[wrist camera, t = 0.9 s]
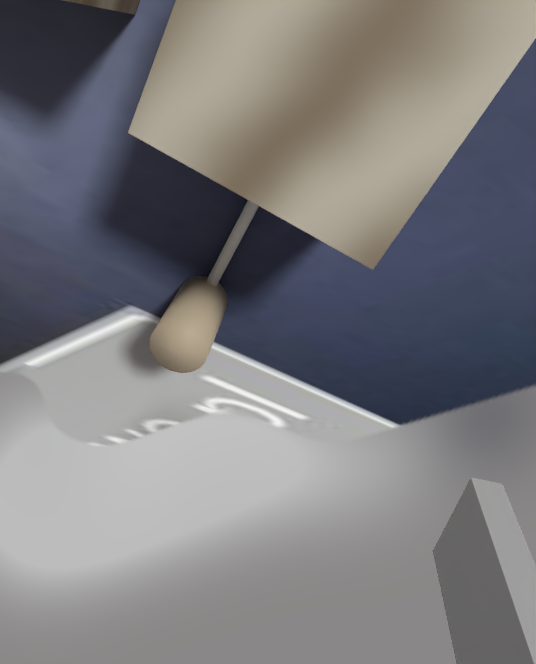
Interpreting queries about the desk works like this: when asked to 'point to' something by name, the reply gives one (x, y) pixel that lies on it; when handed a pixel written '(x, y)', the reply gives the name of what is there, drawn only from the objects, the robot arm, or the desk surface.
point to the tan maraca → (197, 310)
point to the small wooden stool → (329, 102)
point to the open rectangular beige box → (111, 4)
